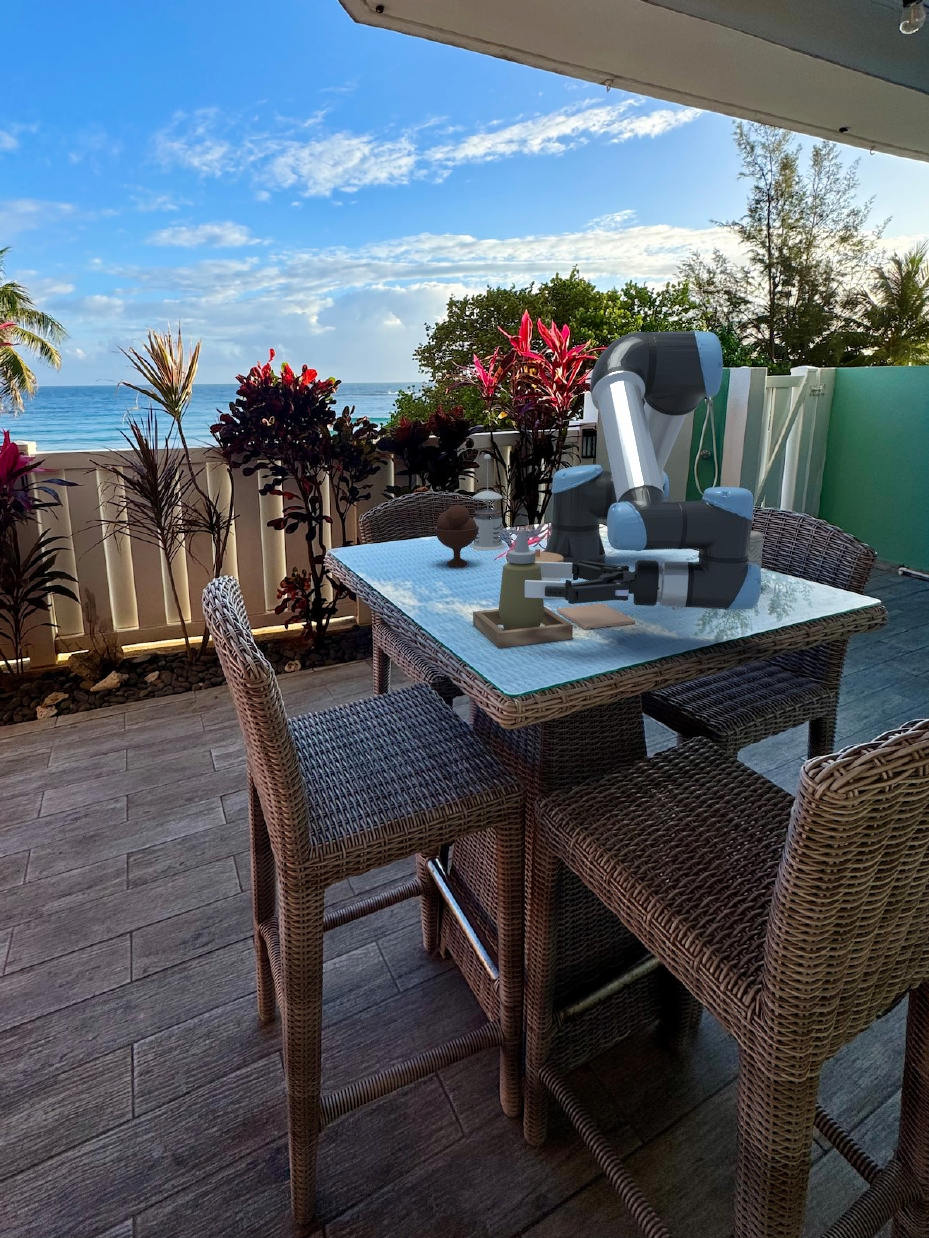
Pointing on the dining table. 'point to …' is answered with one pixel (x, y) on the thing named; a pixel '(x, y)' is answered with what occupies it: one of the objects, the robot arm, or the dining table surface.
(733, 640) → the dining table surface
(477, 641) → the dining table surface
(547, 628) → the wooden frame
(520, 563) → the squeeze bottle
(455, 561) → the ice cream bowl
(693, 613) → the dining table surface
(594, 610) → the tile
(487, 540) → the french press
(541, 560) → the lidded jar
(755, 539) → the carving
